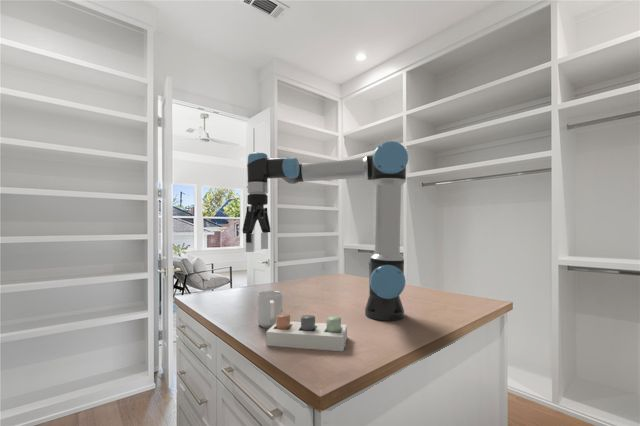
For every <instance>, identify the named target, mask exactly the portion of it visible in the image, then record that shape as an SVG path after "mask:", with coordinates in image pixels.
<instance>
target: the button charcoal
mask: <svg viewBox="0 0 640 426" xmlns="http://www.w3.org/2000/svg"><path fill="white" fill-rule="evenodd" d="M300 322H301V331H313V332H314V331H315V323H316V316H315V315H312V314H304V315H301V316H300Z"/></svg>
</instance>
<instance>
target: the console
mask: <svg viewBox="0 0 640 426" xmlns="http://www.w3.org/2000/svg"><path fill="white" fill-rule="evenodd" d="M265 335H266V336H265V338H266V339H265V340H266V342H265V343H266V344H265V346H268V347H277V348H278V347H280V348H293V349H294V348H295V349H306V350H307V349H308V350H321V351H333V352H334V351H335V352H344V349H345V346H346V343H347V339H348V324H344V323H341V333H329V332H326V322H315V331H314V332H313V331H301V321H291V320H290V329H289V330H281V329H276V323H275V324H274V325H273V326H272V327H271V328H268V330H266V332H265Z"/></svg>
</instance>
